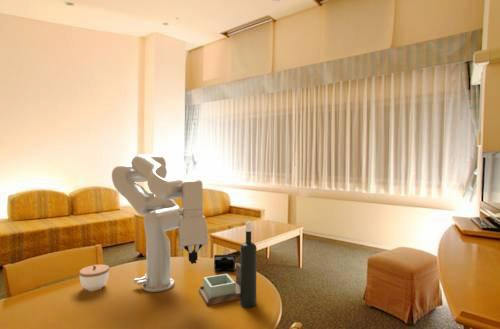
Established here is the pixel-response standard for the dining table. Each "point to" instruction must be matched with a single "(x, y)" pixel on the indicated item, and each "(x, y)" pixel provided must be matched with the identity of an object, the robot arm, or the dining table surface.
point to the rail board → (224, 297)
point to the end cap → (224, 263)
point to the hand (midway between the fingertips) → (193, 262)
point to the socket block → (219, 285)
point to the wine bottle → (248, 270)
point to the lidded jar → (94, 276)
